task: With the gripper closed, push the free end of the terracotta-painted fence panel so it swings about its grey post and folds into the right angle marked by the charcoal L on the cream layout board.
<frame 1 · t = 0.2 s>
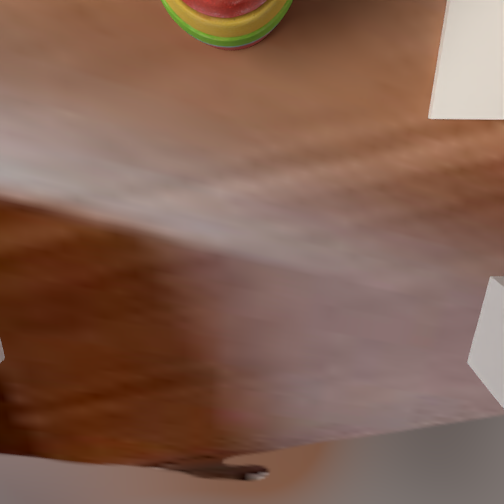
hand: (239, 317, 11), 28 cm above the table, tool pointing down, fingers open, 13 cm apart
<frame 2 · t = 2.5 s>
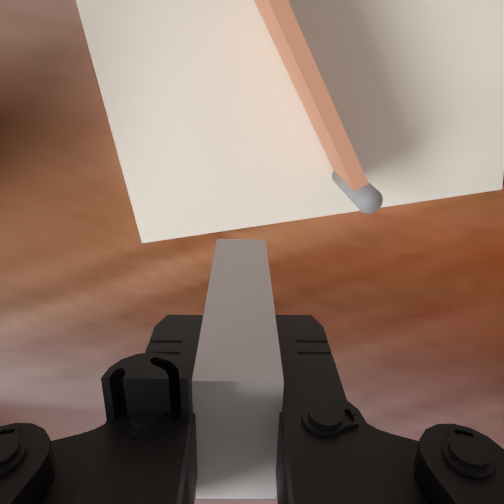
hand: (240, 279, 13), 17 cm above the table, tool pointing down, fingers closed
fence panel: (313, 95, 23), point 4 cm above the table, hinge at 0.0°
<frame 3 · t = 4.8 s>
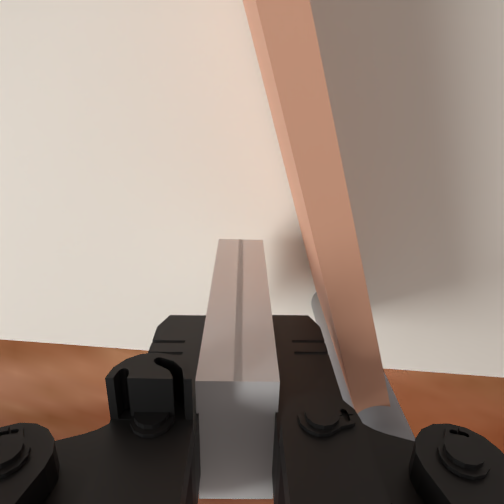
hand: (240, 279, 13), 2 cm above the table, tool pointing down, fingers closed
fence panel: (305, 163, 10), point 4 cm above the table, hinge at 1.5°, touching gripper
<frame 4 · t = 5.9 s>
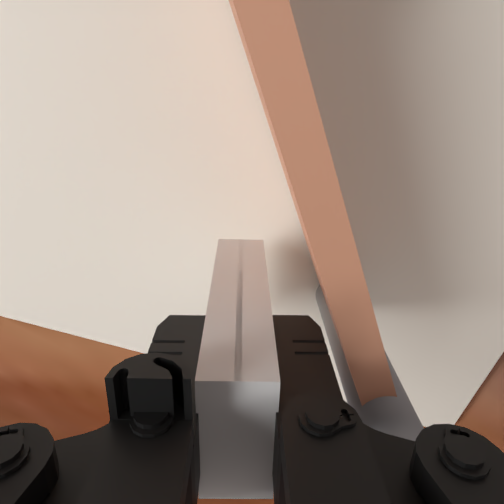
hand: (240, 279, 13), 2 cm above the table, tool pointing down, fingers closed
fence panel: (297, 153, 10), point 4 cm above the table, hinge at 17.6°, touching gripper
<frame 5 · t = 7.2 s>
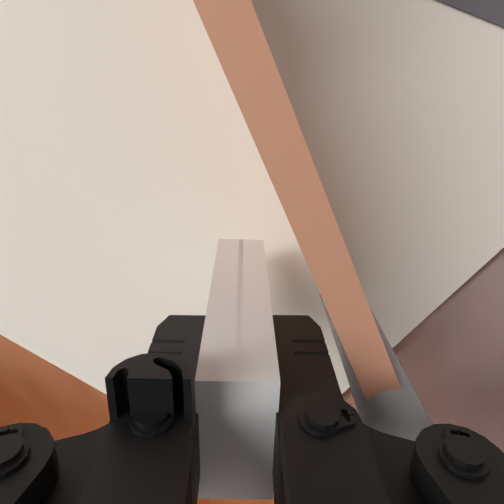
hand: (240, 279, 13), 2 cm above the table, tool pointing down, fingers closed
fence panel: (283, 153, 10), point 4 cm above the table, hinge at 42.7°, touching gripper
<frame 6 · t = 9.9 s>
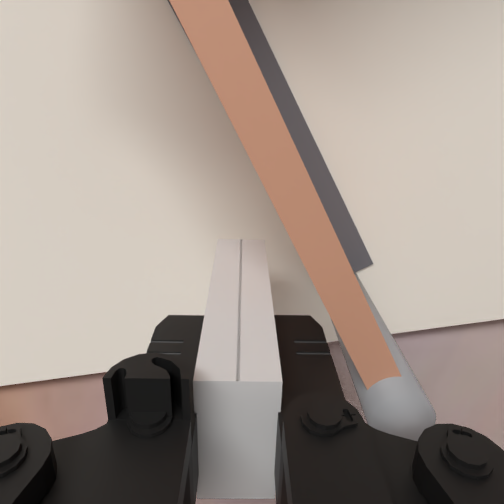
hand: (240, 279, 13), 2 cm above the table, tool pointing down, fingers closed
fence panel: (271, 146, 10), point 4 cm above the table, hinge at 88.4°
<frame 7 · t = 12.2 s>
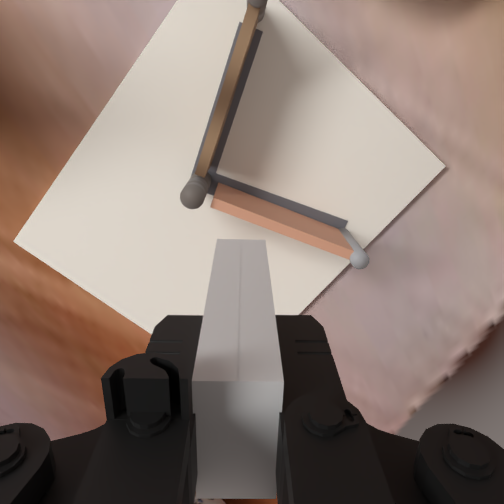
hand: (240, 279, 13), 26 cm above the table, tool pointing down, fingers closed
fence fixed: (201, 179, 37), resting on layout board
teacup: (186, 496, 52), on the table
layout board: (224, 203, 38), on the table
fence panel: (288, 222, 35), point 4 cm above the table, hinge at 88.4°
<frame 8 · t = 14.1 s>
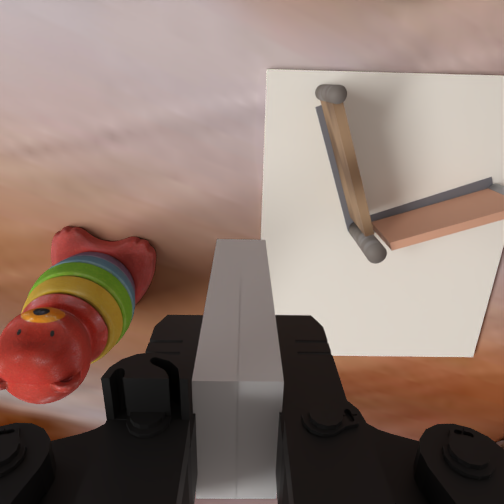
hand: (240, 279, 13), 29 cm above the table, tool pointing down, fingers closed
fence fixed: (356, 228, 43), resting on layout board
stacking bear: (105, 273, 46), on the table
layout board: (382, 231, 44), on the table
fence panel: (450, 216, 39), point 4 cm above the table, hinge at 88.4°
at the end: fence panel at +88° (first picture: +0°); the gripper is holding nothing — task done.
